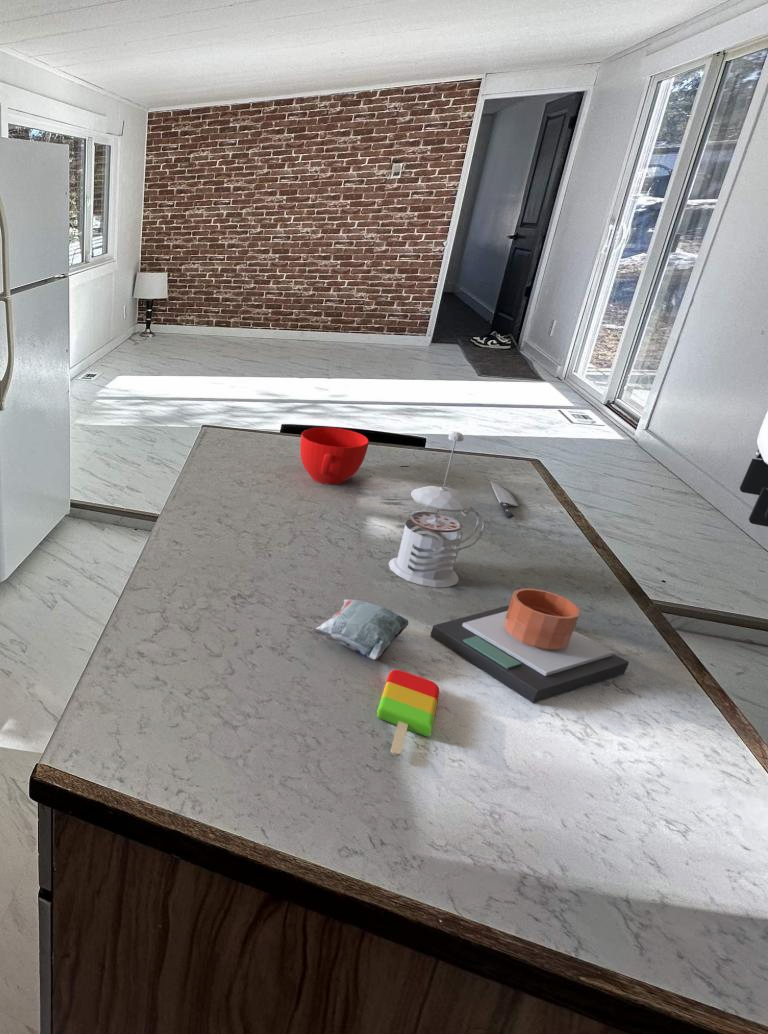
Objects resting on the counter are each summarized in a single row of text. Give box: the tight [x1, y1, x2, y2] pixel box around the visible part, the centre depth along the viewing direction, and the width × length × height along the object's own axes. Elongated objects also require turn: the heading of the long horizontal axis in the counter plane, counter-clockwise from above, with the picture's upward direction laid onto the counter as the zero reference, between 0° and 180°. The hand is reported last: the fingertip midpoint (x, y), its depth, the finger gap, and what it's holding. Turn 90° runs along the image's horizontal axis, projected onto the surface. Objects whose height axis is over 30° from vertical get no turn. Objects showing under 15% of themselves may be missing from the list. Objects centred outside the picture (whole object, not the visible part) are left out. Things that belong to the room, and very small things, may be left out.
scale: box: [430, 604, 630, 704], centre depth 87 cm, size 16×14×3 cm
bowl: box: [504, 588, 582, 650], centre depth 86 cm, size 7×7×6 cm
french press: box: [388, 431, 485, 588], centre depth 103 cm, size 10×12×25 cm
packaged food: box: [311, 598, 409, 661], centre depth 92 cm, size 9×12×5 cm
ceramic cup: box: [299, 426, 369, 485], centre depth 140 cm, size 13×17×10 cm
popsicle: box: [376, 669, 440, 757], centre depth 78 cm, size 6×15×2 cm, turn 140°
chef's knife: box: [490, 481, 519, 519], centre depth 129 cm, size 19×1×3 cm
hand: (765, 509), depth 70 cm, fingers open, 9 cm apart
